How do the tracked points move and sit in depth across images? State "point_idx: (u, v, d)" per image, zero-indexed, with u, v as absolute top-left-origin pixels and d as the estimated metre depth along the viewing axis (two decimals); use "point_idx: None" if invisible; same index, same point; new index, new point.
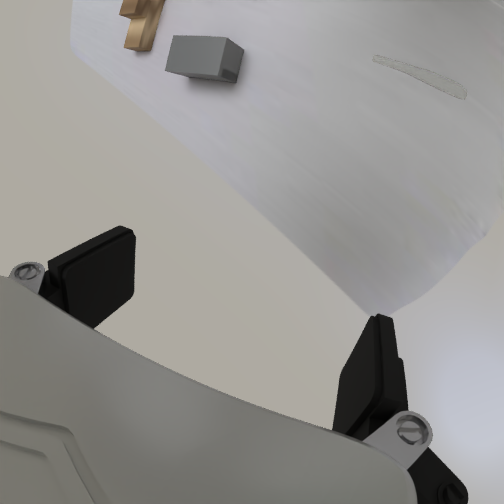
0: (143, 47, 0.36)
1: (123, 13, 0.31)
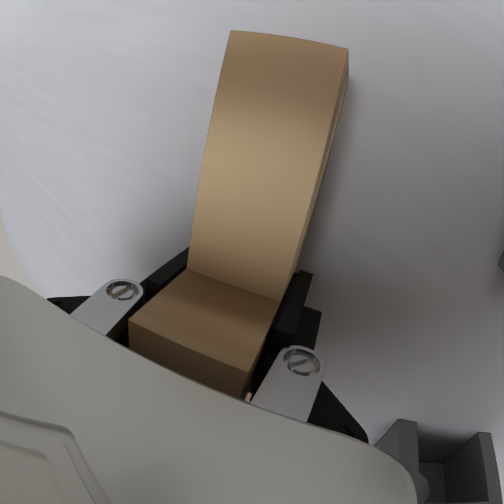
0: None
1: None
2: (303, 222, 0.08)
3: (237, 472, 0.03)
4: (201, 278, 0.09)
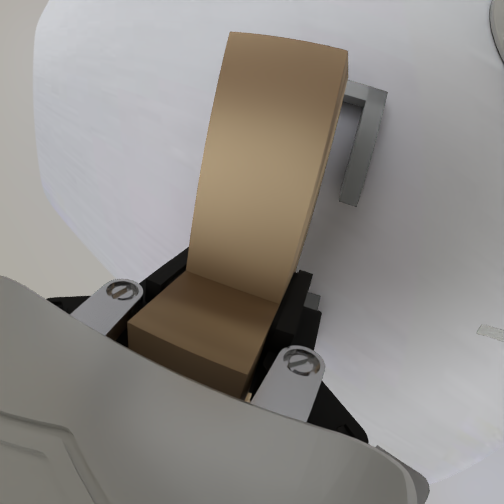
0: None
1: None
2: (302, 224, 0.08)
3: (237, 472, 0.03)
4: (200, 280, 0.09)
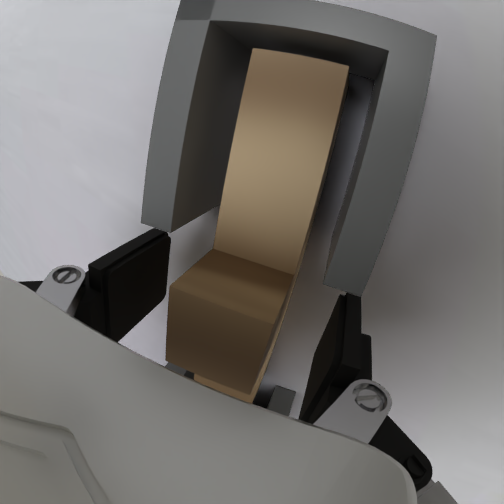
0: (255, 393, 0.15)
1: (188, 366, 0.09)
2: (313, 206, 0.09)
3: (237, 472, 0.03)
4: (226, 256, 0.11)
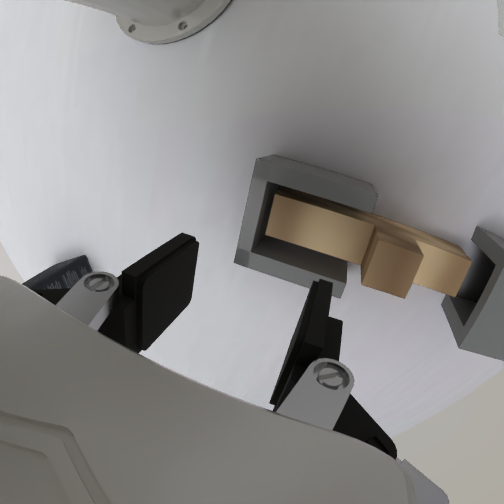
0: (464, 254, 0.19)
1: (408, 286, 0.17)
2: (340, 214, 0.20)
3: (237, 472, 0.03)
4: (363, 258, 0.20)
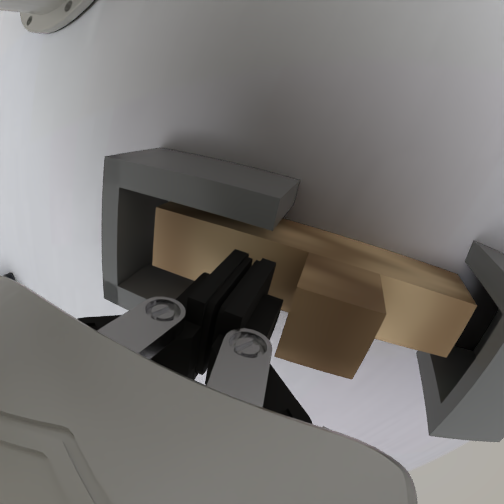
0: (465, 291, 0.12)
1: (357, 361, 0.10)
2: (251, 234, 0.13)
3: (237, 472, 0.03)
4: None
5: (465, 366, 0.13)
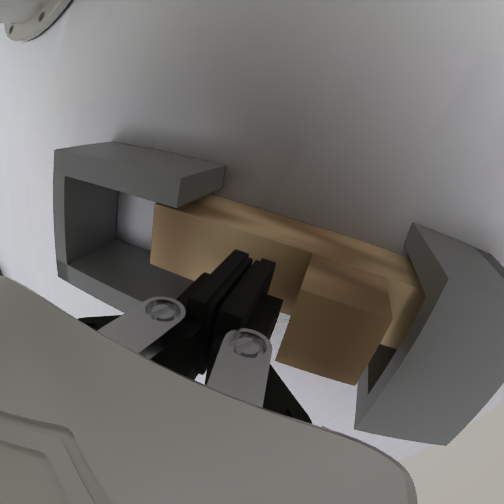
0: None
1: (361, 367, 0.09)
2: (252, 234, 0.12)
3: (237, 472, 0.03)
4: (294, 306, 0.12)
5: None
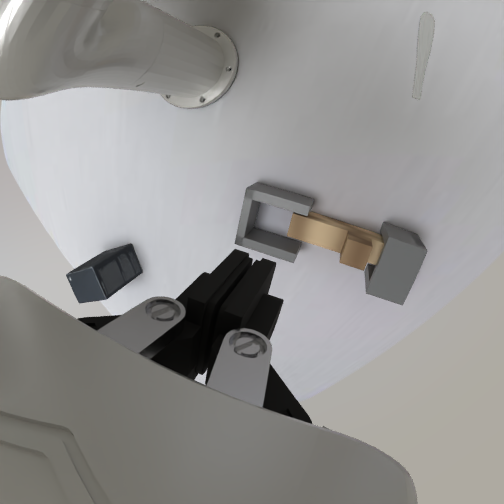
0: None
1: (365, 263, 0.34)
2: (328, 224, 0.36)
3: (237, 472, 0.03)
4: (341, 249, 0.37)
5: None
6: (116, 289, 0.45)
